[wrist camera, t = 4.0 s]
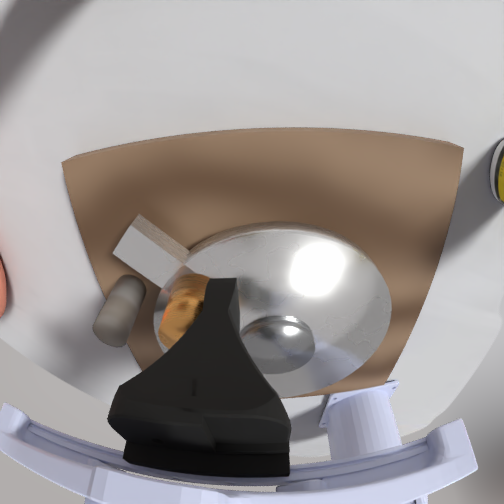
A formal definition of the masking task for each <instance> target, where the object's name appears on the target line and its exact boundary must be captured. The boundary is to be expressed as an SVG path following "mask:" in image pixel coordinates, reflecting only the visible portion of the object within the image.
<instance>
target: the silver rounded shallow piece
mask: <svg viewBox="0 0 504 504" xmlns="http://www.w3.org/2000/svg"><path fill="white" fill-rule="evenodd" d="M113 254H114V255H115V256H117V257H118V258H119V259H121V260H122V261H124V262H125V263H126V264H128V265H129V266H130V267H132V268H133V269H135V270H136V271H137V272H139V273H140V274H142V275H143V276H145V277H146V278H147V279H149V280H150V281H152V282H153V283H155V284H156V285H158V286H159V287H161V291H160V293H159V296H158V299H157V302H156V306H155V310H154V330H155V334H156V337H157V341H158V343H159V345H160V347H161V349H162V351H163V352H164V354H165V353H166V352H167V351H168V350H169V349H170V348H171V347H172V346H173V345H174V344H175V343H176V342H177V341H178V340H179V339H180V338H181V337H182V336H183V334H184V333H185V332H186V331H187V330H188V329H189V327H190V326H191V325H192V324H193V322H194V321H195V320H196V318H197V317H198V316H199V314H200V313H201V311H202V310H203V303H204V295H205V289H206V286H207V283H208V281H209V279H210V278H237V286H238V297H239V307H240V337H241V339H242V342H243V344H244V345H245V347H246V349H247V351H248V353H249V355H250V356H251V358H252V359H253V361H254V363H255V364H256V366H257V367H258V369H259V370H260V372H261V373H262V375H263V376H264V377H265V379H266V380H267V381H268V383H269V384H270V385H271V386H272V388H273V389H274V390H275V391H276V392H277V394H278V395H279V398H286V397H293V396H298V395H303V394H307V393H310V392H314V391H317V390H320V389H322V388H325V387H327V386H330V385H332V384H334V383H336V382H338V381H340V380H342V379H343V378H345V377H347V376H348V375H350V374H351V373H353V372H354V371H355V370H357V369H358V368H359V367H361V366H362V365H363V364H364V363H365V362H366V361H367V360H368V359H369V358H370V357H371V356H372V355H373V354H374V352H375V351H376V350H377V348H378V347H379V345H380V344H381V342H382V341H383V339H384V337H385V335H386V333H387V330H388V327H389V324H390V319H391V312H392V308H391V297H390V293H389V289H388V287H387V285H386V283H385V280H384V278H383V277H382V275H381V273H380V272H379V270H378V268H377V267H376V265H375V264H374V262H373V261H372V260H371V258H370V257H369V256H368V254H367V253H366V252H365V251H363V250H362V249H361V248H360V247H359V246H358V245H357V244H355V243H354V242H352V241H351V240H349V239H348V238H346V237H345V236H342V235H340V234H338V233H336V232H334V231H332V230H329V229H326V228H322V227H319V226H316V225H312V224H306V223H299V222H288V221H270V222H260V223H252V224H248V225H243V226H239V227H235V228H232V229H229V230H226V231H224V232H221V233H218V234H216V235H214V236H212V237H210V238H208V239H206V240H204V241H202V242H201V243H199V244H198V245H196V246H195V247H194V248H192V249H191V250H187V249H186V248H185V247H183V246H182V245H180V244H179V243H178V242H176V241H175V240H174V239H172V238H171V237H170V236H168V235H167V234H166V233H164V232H163V231H162V230H160V229H159V228H158V227H156V226H155V225H154V224H152V223H151V222H150V221H148V220H147V219H146V218H144V217H143V216H142V215H140V214H139V215H138V216H137V217H136V219H135V220H134V221H133V222H132V224H131V225H130V226H129V228H128V229H127V231H126V232H125V234H124V235H123V237H122V239H121V240H120V242H119V243H118V245H117V247H116V248H115V250H114V251H113Z"/></svg>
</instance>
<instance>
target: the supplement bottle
mask: <svg viewBox="0 0 504 504" xmlns="http://www.w3.org/2000/svg"><path fill="white" fill-rule="evenodd" d="M490 182H491V189H492V192H493V194H494V196H495V198H496V199H497V200H498V201H499V202H500V203H501V204H502V205H504V140H502V141H501V142H500V144H499V145H498V146H497V148H496V150H495V152H494V155H493V158H492V163H491V169H490Z"/></svg>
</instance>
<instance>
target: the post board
mask: <svg viewBox="0 0 504 504" xmlns="http://www.w3.org/2000/svg"><path fill="white" fill-rule="evenodd" d="M463 150H464V148H463V147H460V146H458V145H455V144H453V143H450V142H446V141H441V140H435V139H430V138H424V137H417V136H410V135H403V134H395V133H386V132H377V131H366V130H352V129H335V128H254V129H236V130H223V131H211V132H201V133H192V134H184V135H176V136H169V137H162V138H156V139H150V140H144V141H138V142H133V143H128V144H123V145H118V146H113V147H108V148H104V149H100V150H95V151H91V152H87V153H83V154H79V155H76V156H73V157H71V158H69V159H67V160H65V161H63V162H61V163H62V167H63V172H64V176H65V180H66V185H67V189H68V192H69V196H70V200H71V204H72V207H73V211H74V214H75V217H76V221H77V224H78V227H79V230H80V233H81V236H82V239H83V242H84V245H85V248H86V251H87V253H88V256H89V259H90V262H91V264H92V267H93V269H94V272H95V274H96V277H97V279H98V282H99V284H100V287H101V289H102V291H103V294H104V296H105V298H106V302H105V304H104V306H103V307H102V309H101V311H100V313H99V315H98V317H97V319H96V321H95V323H94V324H93V331H94V333H95V335H96V336H97V337H98V338H99V339H100V340H101V341H102V342H104V343H105V344H107V345H110V346H113V347H122V346H124V345H125V344H126V342H127V344H128V346H129V348H130V350H131V352H132V353H133V355H134V357H135V359H136V361H137V362H138V364H139V366H140V368H141V369H142V371H144V370H145V369H146V368H148V367H149V366H150V365H151V364H153V363H154V362H155V361H156V360H158V359H159V358H160V357H161V356H162V355H164V352H163V351H162V349H161V347H160V345H159V343H158V341H157V337H156V334H155V330H154V310H155V306H156V302H157V299H158V296H159V293H160V291H161V287H159V286H158V285H156V284H155V283H153V282H152V281H150V280H149V279H147V278H146V277H145V276H143V275H142V274H140V273H139V272H137V271H136V270H135V269H133V268H132V267H130V266H129V265H128V264H126V263H125V262H124V261H122V260H121V259H119V258H118V257H117V256H115V255H114V254H113V251H114V250H115V248H116V247H117V245H118V243H119V242H120V240H121V239H122V237H123V235H124V234H125V232H126V231H127V229H128V228H129V226H130V225H131V224H132V222H133V221H134V220H135V219H136V217H137V216H138V215H139V214H140V215H142V216H143V217H144V218H146V219H147V220H148V221H150V222H151V223H152V224H154V225H155V226H156V227H158V228H159V229H160V230H162V231H163V232H164V233H166V234H167V235H168V236H170V237H171V238H172V239H174V240H175V241H176V242H178V243H179V244H180V245H182V246H183V247H185V248H186V249H187V250H191V249H192V248H194V247H195V246H196V245H198V244H199V243H201V242H202V241H204V240H206V239H208V238H210V237H212V236H214V235H216V234H218V233H221V232H224V231H226V230H229V229H232V228H235V227H239V226H243V225H248V224H252V223H260V222H270V221H288V222H299V223H306V224H312V225H316V226H319V227H322V228H326V229H329V230H332V231H334V232H336V233H338V234H340V235H342V236H345V237H346V238H348V239H349V240H351V241H352V242H354V243H355V244H357V245H358V246H359V247H360V248H361V249H362V250H363V251H365V252H366V253H367V254H368V256H369V257H370V258H371V260H372V261H373V262H374V264H375V265H376V267H377V268H378V270H379V272H380V273H381V275H382V277H383V278H384V280H385V283H386V285H387V287H388V289H389V293H390V297H391V308H392V312H391V319H390V324H389V327H388V330H387V333H386V335H385V337H384V339H383V341H382V342H381V344H380V345H379V347H378V348H377V350H376V351H375V352H374V354H373V355H372V356H371V357H370V358H369V359H368V360H367V361H366V362H365V363H364V364H363V365H362V366H361V367H359V368H358V369H357V370H355V371H354V372H353V373H351V374H350V375H348V376H347V377H345V378H343V379H342V380H340V381H338V382H336V383H334V384H332V385H330V386H327V387H325V388H322V389H320V390H317V391H314V392H310V393H307V394H303V395H298V396H293V397H286V398H296V397H307V396H317V395H325V394H333V393H340V392H347V391H353V390H359V389H365V388H371V387H376V386H381V385H384V384H385V382H386V381H387V379H388V377H389V375H390V374H391V372H392V370H393V368H394V366H395V364H396V362H397V360H398V359H399V357H400V355H401V353H402V351H403V349H404V347H405V345H406V343H407V340H408V338H409V336H410V334H411V332H412V330H413V327H414V325H415V323H416V321H417V318H418V316H419V314H420V311H421V309H422V307H423V304H424V302H425V299H426V296H427V294H428V291H429V289H430V286H431V283H432V280H433V278H434V275H435V272H436V269H437V266H438V263H439V260H440V257H441V253H442V250H443V247H444V243H445V240H446V236H447V232H448V229H449V225H450V221H451V217H452V213H453V208H454V204H455V199H456V194H457V189H458V184H459V178H460V172H461V165H462V158H463ZM280 399H282V398H280Z"/></svg>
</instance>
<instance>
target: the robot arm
mask: <svg viewBox="0 0 504 504" xmlns="http://www.w3.org/2000/svg"><path fill="white" fill-rule="evenodd" d="M398 385H399V382H398V381H392V382H387V383H385V384H384V385H381V386H376V387H371V388H365V389H359V390H353V391H347V392H340V393H333V394H330V396H329V399H328V402H327V404H326V407H325V410H324V412H323V415H322V418H321V420H320V423H319V427H320V428H325V427H327V433H328V440H329V446H330V453H331V461H324V462H316V463H307V464H297V465H290V462H289V452H290V449H289V438H290V434H291V424H290V420H289V417H288V415H287V412H286V410H285V408H284V406H283V404H282V402H281V400H280V398H279V395H278V394H277V392H276V391H275V390H274V389H273V388H272V386H271V385H270V384H269V383H268V381H267V380H266V379H265V377H264V376H263V375H262V373H261V372H260V370H259V369H258V367H257V366H256V364H255V363H254V361H253V359H252V358H251V356H250V355H249V353H248V351H247V349H246V347H245V345H244V344H243V342H242V339H241V337H240V307H239V297H238V286H237V278H210V279H209V281H208V283H207V286H206V289H205V295H204V303H203V310H202V311H201V313H200V314H199V316H198V317H197V318H196V320H195V321H194V322H193V324H192V325H191V326H190V327H189V329H188V330H187V331H186V332H185V333H184V334H183V336H182V337H181V338H180V339H179V340H178V341H177V342H176V343H175V344H174V345H173V346H172V347H171V348H170V349H169V350H168V351H167V352H166V353H165V354H164V355H162V356H161V357H160V358H159V359H158V360H156V361H155V362H154V363H153V364H151V365H150V366H149V367H148V368H146V369H145V370H144V371H142V372H141V373H139V374H138V375H136V376H135V377H133V378H132V379H130V380H128V381H127V382H125V383H124V384H122V385H120V386H119V388H118V390H117V392H116V394H115V396H114V399H113V402H112V405H111V408H110V411H109V415H108V418H107V419H108V423H109V424H110V425H111V427H112V428H113V429H114V430H115V431H116V432H117V433H119V434H120V435H121V436H122V437H123V438H124V439H125V440H126V445H125V449H124V452H123V451H119V450H115V449H111V448H108V447H104V446H101V445H97V444H94V443H91V442H87V441H84V440H81V439H78V438H76V437H73V436H70V435H67V434H64V433H61V432H59V431H57V430H54V429H52V428H49V427H47V426H44V425H42V424H40V423H38V422H36V421H33V420H31V419H30V418H29V417H28V416H27V415H26V414H25V413H24V412H22V411H21V410H20V409H18V408H16V407H14V406H12V405H10V404H8V403H6V402H4V404H3V407H2V409H1V411H0V451H2V452H3V453H4V454H6V455H7V456H9V457H11V458H12V459H14V460H15V461H17V462H18V463H20V464H21V465H23V466H25V467H26V468H28V469H30V470H31V471H33V472H35V473H36V474H38V475H40V476H42V477H44V478H46V479H48V480H50V481H52V482H54V483H56V484H57V485H59V486H62V487H64V488H66V489H68V490H70V491H72V492H75V493H77V494H79V495H82V496H84V497H86V498H85V503H84V504H428V502H427V501H428V496H427V495H428V494H430V493H433V492H435V491H437V490H440V489H441V488H444V487H446V486H448V485H450V484H452V483H454V482H456V481H458V480H460V479H462V478H464V477H466V476H467V475H469V474H471V473H473V472H475V471H476V470H477V469H478V466H477V463H476V459H475V456H474V452H473V449H472V446H471V443H470V440H469V437H468V434H467V431H466V428H465V426H464V423H463V420H462V419H461V418H459V419H457V420H454V421H452V422H450V423H447V424H445V425H442V426H440V427H438V428H436V429H434V430H432V431H431V432H430V433H429V434H428V435H427V436H426V437H424V438H422V439H419V440H416V441H412V442H409V443H406V444H403V445H402V442H401V438H400V435H399V431H398V428H397V424H396V421H395V417H394V414H393V410H392V407H391V404H390V401H389V399H390V397H391V396H392V394H393V393H394V391H395V390H396V388H397V387H398ZM118 468H119V469H118ZM120 469H123V470H126V471H131V472H135V473H139V474H143V475H148V476H153V477H159V478H164V479H170V480H176V481H184V482H191V483H201V484H212V485H227V486H273V485H280V486H277V487H276V492H252V491H234V490H223V489H213V488H206V487H201V486H194V485H187V484H181V483H174V482H168V481H162V480H157V479H151V478H147V477H142V476H138V475H134V474H130V473H126V472H125V471H123V470H120Z"/></svg>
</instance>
